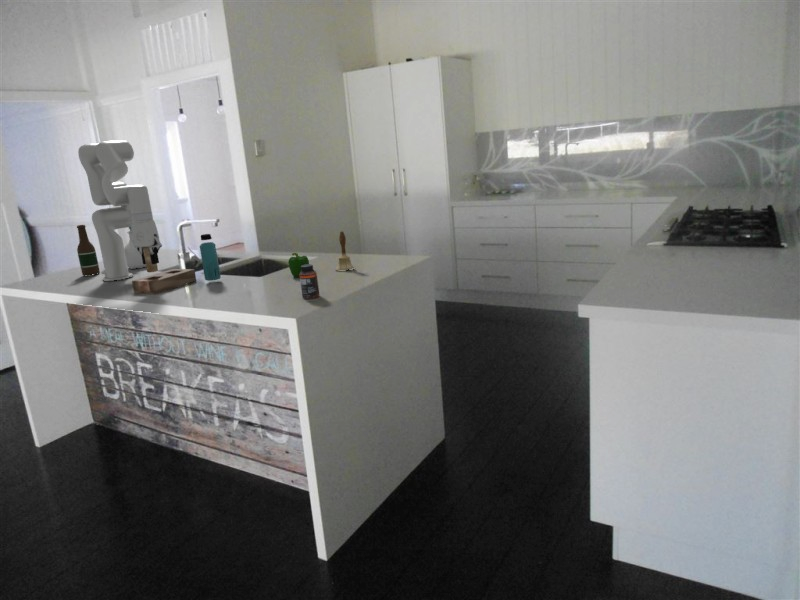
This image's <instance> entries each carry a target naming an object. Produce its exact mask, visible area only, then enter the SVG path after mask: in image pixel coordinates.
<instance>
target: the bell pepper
mask: <svg viewBox="0 0 800 600" xmlns="http://www.w3.org/2000/svg"><path fill="white" fill-rule="evenodd" d="M306 264H310V260H309V258H308V257H307V255H302V256H300V255H298V253H297V252H292V253H291V257H290V258H289V259H288V268H289V270H290V274H291V275H292V276H293V277H294V278H300V275H299V274H300V272H301V271H302V270H301V266H302V265H306Z"/></svg>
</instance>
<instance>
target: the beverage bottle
mask: <svg viewBox="0 0 800 600" xmlns="http://www.w3.org/2000/svg"><path fill="white" fill-rule="evenodd" d="M200 240H201V241H205V242H202V243H201V244H200V245H199V251H200V257H201V263H202V270H203V273H204V275H203V276H204V279H205V281H211V282H212V281H216V280H220V279H221V270H220V269H221V268H220V264H219V257H218V252H217V248H216V244H215V243H214V242H213V241H208V240H213V237H212V235H211V233H204V234H201V235H200Z"/></svg>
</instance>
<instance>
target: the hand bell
mask: <svg viewBox="0 0 800 600" xmlns="http://www.w3.org/2000/svg"><path fill="white" fill-rule="evenodd" d="M338 240H339V245H340V246H341V255H340V256H339V257H338V264H337V266H336V268H335V269H336V270H348V269H352V268H354V267H355V266H354V265H353V263H352V262H351V259H350V256H349V255H347V253H346V245H347V244H346V243H347V240H346V235H345V233H344V231H340V232H339V237H338ZM336 270H335V271H336Z"/></svg>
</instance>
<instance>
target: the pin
mask: <svg viewBox="0 0 800 600" xmlns="http://www.w3.org/2000/svg"><path fill="white" fill-rule="evenodd" d="M152 246H153V245H152ZM153 249H154V247H153ZM143 252H144V257H145V262H146V267H145V268H146V272H147V273H155V272H158V271H159V269H158V263H157V264H152V262H151V257H150V254H151V252H150V249H149V247H143Z"/></svg>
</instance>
